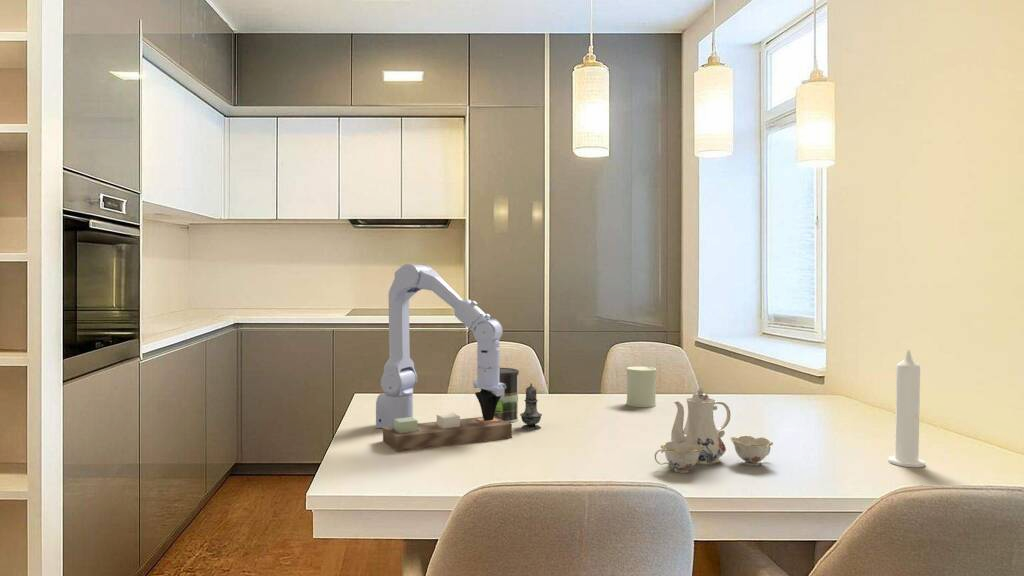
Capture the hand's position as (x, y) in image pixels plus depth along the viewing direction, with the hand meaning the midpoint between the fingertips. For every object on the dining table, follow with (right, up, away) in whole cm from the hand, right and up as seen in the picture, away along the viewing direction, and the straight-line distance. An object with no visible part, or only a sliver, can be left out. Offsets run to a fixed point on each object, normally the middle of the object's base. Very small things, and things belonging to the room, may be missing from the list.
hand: (488, 419), depth 178 cm
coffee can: (+3, -4, +18) cm, 19 cm away
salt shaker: (+11, -4, +8) cm, 14 cm away
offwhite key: (-10, -1, -5) cm, 11 cm away
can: (+47, -3, +41) cm, 62 cm away
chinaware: (+49, -5, -25) cm, 55 cm away
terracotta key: (0, -3, 0) cm, 3 cm away
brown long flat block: (-10, -4, -5) cm, 12 cm away
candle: (+93, -5, -25) cm, 96 cm away
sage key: (-20, -1, -10) cm, 22 cm away
